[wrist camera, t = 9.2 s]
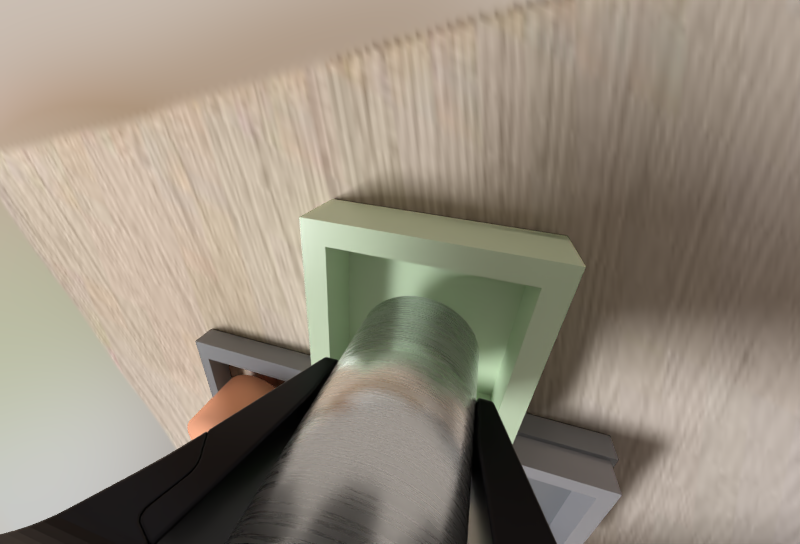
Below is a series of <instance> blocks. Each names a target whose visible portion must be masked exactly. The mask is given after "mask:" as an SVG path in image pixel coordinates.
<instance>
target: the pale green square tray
mask: <svg viewBox="0 0 800 544" xmlns="http://www.w3.org/2000/svg"><path fill="white" fill-rule="evenodd" d="M299 220H300V232H301V244H302V257H303V269H304V282H305V294H306V306H307V319H308V331H309V343H310V356H311V365H313V364H315V363H316V362H318V361H319V360H321V359H323V358H325V357H329V358H333V359H337V360H338V361H339V360H340V358H341V356H342V355H343V353H344V352H345V350H346V348H347V347H348V345H349V344H350V342H351V340H352V339H353V337H354V336H355V334H356V332H357V331H358V329H359V328H360V326H361V324H362V323H363V321H364V320H365V318H366V316H367V315H368V314H369V312H370V311H371V310H372V309H373V308H374V307H375V306H377V305H378V304H380V303H381V302H383V301H385V300H388V299H391V298H395V297H400V296H418V297H425V298H428V299H432V300H435V301H437V302H440V303H442V304H444V305H446V306H448V307H449V308H451V309H452V310H454V311H455V312H457V313H458V314H459V315H460V316H461V317H462V318H463V319H464V320H465V321H466V322H467V323H468V324H469V326H470V327H471V329H472V330H473V332H474V334H475V336H476V339H477V342H478V347H479V364H478V380H477V396H476V401H477V399H478V398H482V399H486V400H490V401H492V402H493V403H494V405H495V407H496V409H497V411H498V413H499V415H500V418H501V420H502V422H503V424H504V427H505V429H506V431H507V433H508V435H509V438H510V440H511V442H512V444H513V442H514V440H515V437H516V435H517V432H518V430H519V428H520V425H521V423H522V420H523V418H524V415H525V413H526V411H527V408H528V406H529V403H530V401H531V398H532V396H533V394H534V391H535V389H536V386H537V384H538V382H539V379H540V377H541V374H542V372H543V369H544V367H545V365H546V362H547V360H548V357H549V355H550V353H551V350H552V348H553V345H554V343H555V340H556V338H557V336H558V333H559V331H560V328H561V326H562V323H563V321H564V319H565V316H566V314H567V311H568V309H569V307H570V304H571V302H572V299H573V297H574V294H575V292H576V290H577V287H578V285H579V282H580V280H581V278H582V275H583V273H584V270H585V268H586V266H585V265H584V263H583V261H582V260H581V258H580V256H579V254H578V253H577V251H576V249H575V248H574V246H573V244H572V243H571V241H570V239H569V238H568V236H564V235H558V234H552V233H545V232H539V231H533V230H526V229H520V228H514V227H507V226H501V225H495V224H488V223H482V222H476V221H469V220H463V219H457V218H450V217H444V216H438V215H431V214H425V213H419V212H412V211H406V210H400V209H393V208H387V207H381V206H374V205H368V204H362V203H355V202H349V201H343V200H336V199H332V200H330V201H328V202H326V203H324V204H322V205H321V206H319V207H317V208H315V209H313V210H311V211H310V212H308V213H306V214H304V215H302V216H300V217H299Z"/></svg>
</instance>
